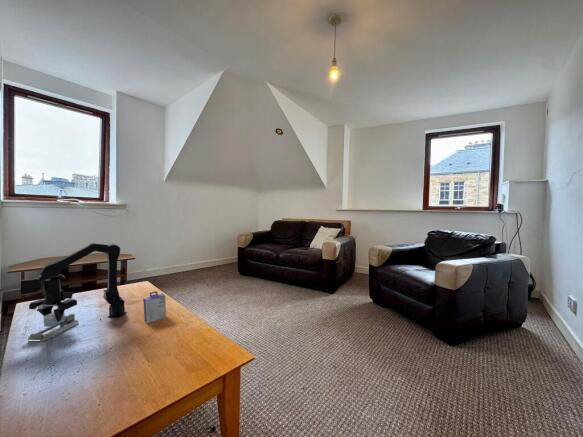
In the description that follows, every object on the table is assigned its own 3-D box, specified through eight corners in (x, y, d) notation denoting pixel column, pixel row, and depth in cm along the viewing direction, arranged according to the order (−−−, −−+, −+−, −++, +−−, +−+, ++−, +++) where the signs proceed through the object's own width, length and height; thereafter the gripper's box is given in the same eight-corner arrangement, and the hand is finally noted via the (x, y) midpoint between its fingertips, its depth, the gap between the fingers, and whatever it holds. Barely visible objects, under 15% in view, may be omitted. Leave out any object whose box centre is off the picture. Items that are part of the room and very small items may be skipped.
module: (64, 320, 122) (64, 310, 122) (52, 326, 116) (52, 316, 116) (56, 320, 122) (56, 310, 122) (44, 326, 116) (43, 316, 116)
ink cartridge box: (163, 314, 138) (162, 289, 137) (167, 317, 134) (166, 291, 133) (143, 320, 131) (142, 293, 130) (146, 324, 127) (145, 296, 126)
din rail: (78, 323, 128) (77, 313, 128) (44, 341, 111) (43, 329, 111) (64, 323, 128) (63, 313, 128) (28, 341, 111) (27, 329, 111)
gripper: (85, 284, 126) (87, 314, 127) (50, 284, 127) (52, 313, 128) (65, 292, 115) (67, 324, 116) (26, 291, 116) (29, 324, 117)
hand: (54, 321), depth 119 cm, fingers closed on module, 4 cm apart
